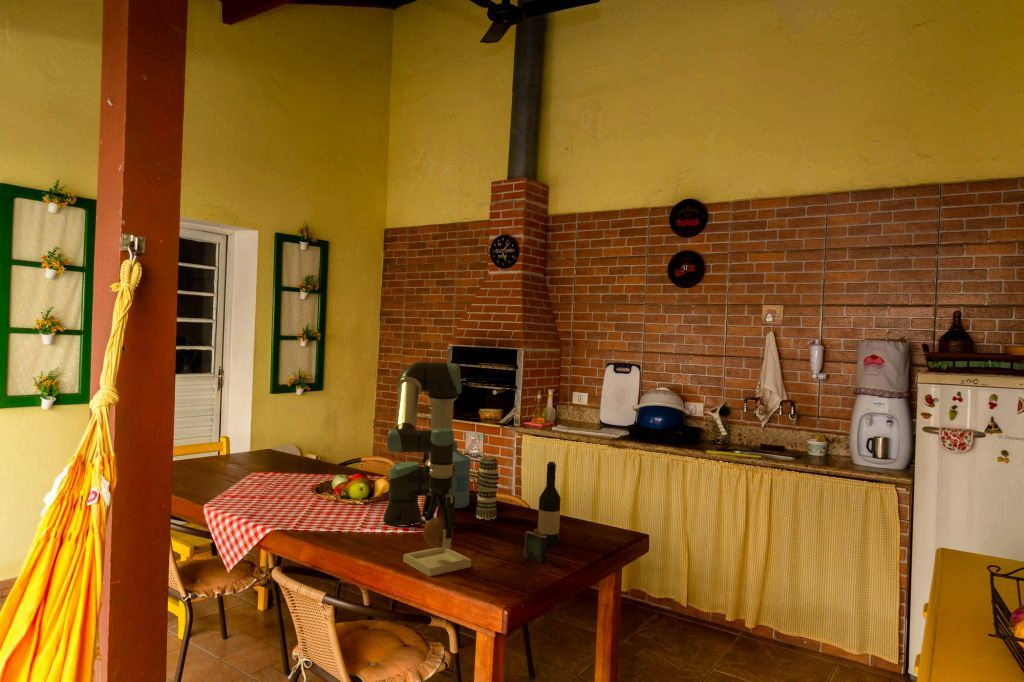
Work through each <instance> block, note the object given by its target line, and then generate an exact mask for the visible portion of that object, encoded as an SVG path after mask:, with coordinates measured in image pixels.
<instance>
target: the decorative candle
mask: <svg viewBox="0 0 1024 682" xmlns="http://www.w3.org/2000/svg"><path fill="white" fill-rule="evenodd" d="M478 461H479V468H478V471H477V473H476V475H477V485H476V487H477V490H478V491H477V493H478V495H477V500H476V512H475V514H476V516H475V517H477V518H476V519H478V518H479V519H478V520H481V519H485V520H484V521H491V520H490V519H493V520H495V518H496V519H497V514H498V513H497V511H498V509H497V507H498V504H497V503H498V500H497V491H498V488H499V486H498V485H499V482H498V480H500V478H499V476H500V474H499V472H498V471H499V468H498V464H499V460H498V459H497V458H496V457H494V456H489V455H488V456H482V457H481V458H480V459H479V460H478Z"/></svg>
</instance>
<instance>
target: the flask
mask: <svg viewBox="0 0 1024 682" xmlns="http://www.w3.org/2000/svg"><path fill="white" fill-rule="evenodd" d="M538 530H539V529H538V528H534V529H533V531H530V530H529V531H528V530H526V531H525V533H524V551H523V557H524V558H525V559H526V558H527V560H530V559H532V560H536V561H538V562H537V563H539V562H541V563H540V564H543V563H545V562H546V563H547V537H546V536H544V534H543V535H542V534H540V532H539V531H538ZM532 560H531V561H532ZM546 563H545V564H546Z"/></svg>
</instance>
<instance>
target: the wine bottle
mask: <svg viewBox="0 0 1024 682" xmlns="http://www.w3.org/2000/svg"><path fill="white" fill-rule="evenodd" d="M556 470H557V464H556V461H548V463H547V464H546V479H545V480H546V483H545V488H544V490H543V491H542V493H541V494H540V496H539V498H538V516H537V517H538V519H537V520H538V521H537V529H539V530H538V531H539V532H540V534H542V535H543V534H544V536H546V537H547V545H554V546H557V545H556V544H558V545H559V543H558V542H560V540H559V539H560V520H561V519H560V517H561V500H562V499H561V495H560V494H559V491H558V490H557V488H556V472H557V471H556Z"/></svg>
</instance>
